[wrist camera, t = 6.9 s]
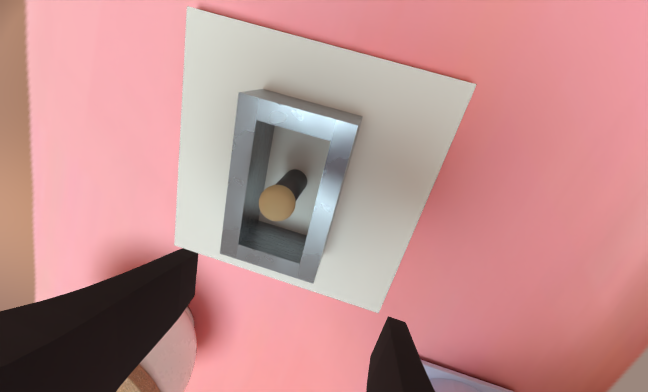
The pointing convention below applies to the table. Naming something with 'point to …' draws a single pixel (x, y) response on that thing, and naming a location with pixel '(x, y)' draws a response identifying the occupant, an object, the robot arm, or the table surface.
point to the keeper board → (314, 148)
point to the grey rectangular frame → (250, 174)
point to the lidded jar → (167, 361)
